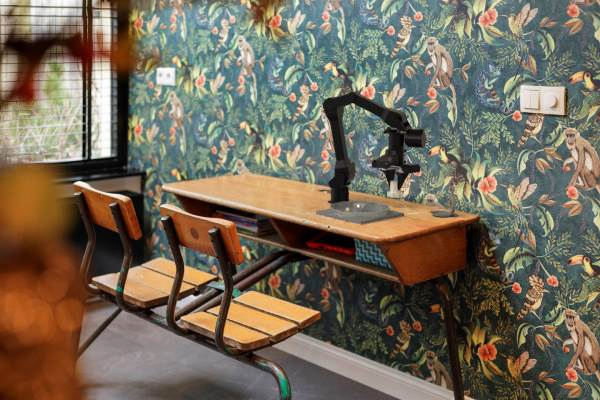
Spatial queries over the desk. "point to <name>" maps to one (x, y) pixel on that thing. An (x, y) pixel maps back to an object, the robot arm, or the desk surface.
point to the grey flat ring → (350, 214)
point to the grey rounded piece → (451, 207)
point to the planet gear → (394, 190)
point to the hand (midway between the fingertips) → (394, 189)
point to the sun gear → (359, 207)
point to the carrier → (360, 220)
